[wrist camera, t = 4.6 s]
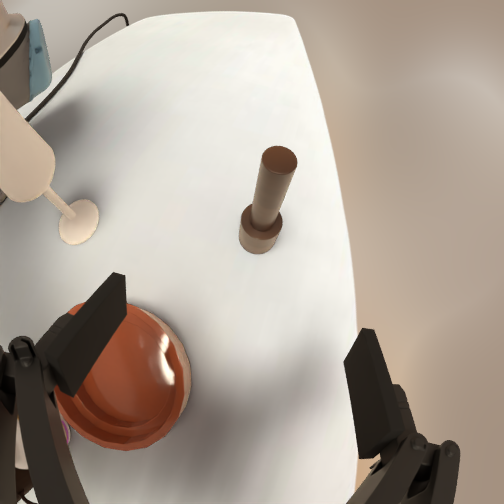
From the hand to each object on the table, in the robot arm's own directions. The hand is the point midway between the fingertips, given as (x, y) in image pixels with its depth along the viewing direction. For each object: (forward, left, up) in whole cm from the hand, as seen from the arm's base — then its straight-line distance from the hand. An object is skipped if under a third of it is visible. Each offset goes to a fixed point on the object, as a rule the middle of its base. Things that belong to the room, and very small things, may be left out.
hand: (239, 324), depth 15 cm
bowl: (+5, -13, -17) cm, 22 cm away
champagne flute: (-14, -21, -18) cm, 31 cm away
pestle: (-11, +3, -17) cm, 21 cm away
